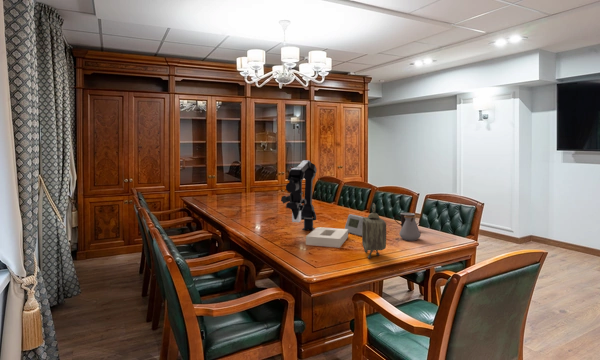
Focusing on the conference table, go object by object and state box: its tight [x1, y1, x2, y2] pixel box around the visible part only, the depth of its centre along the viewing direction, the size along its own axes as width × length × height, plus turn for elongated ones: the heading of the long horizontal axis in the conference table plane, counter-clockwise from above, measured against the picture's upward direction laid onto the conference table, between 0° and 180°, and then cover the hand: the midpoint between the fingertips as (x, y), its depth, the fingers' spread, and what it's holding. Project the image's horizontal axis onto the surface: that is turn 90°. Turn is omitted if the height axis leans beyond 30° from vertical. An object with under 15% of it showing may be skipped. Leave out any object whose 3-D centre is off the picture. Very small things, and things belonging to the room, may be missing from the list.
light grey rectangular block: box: [291, 210, 302, 223], centre depth 209 cm, size 4×4×6 cm
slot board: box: [305, 226, 349, 249], centre depth 205 cm, size 24×18×4 cm
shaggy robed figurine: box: [361, 202, 387, 260], centre depth 176 cm, size 14×9×25 cm, turn 178°
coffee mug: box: [393, 212, 416, 228], centre depth 234 cm, size 12×9×10 cm
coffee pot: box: [399, 215, 422, 242], centre depth 204 cm, size 21×12×15 cm, turn 167°
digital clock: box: [344, 213, 364, 237], centre depth 222 cm, size 16×9×11 cm, turn 22°
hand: (296, 218), depth 210 cm, fingers closed on light grey rectangular block, 4 cm apart
